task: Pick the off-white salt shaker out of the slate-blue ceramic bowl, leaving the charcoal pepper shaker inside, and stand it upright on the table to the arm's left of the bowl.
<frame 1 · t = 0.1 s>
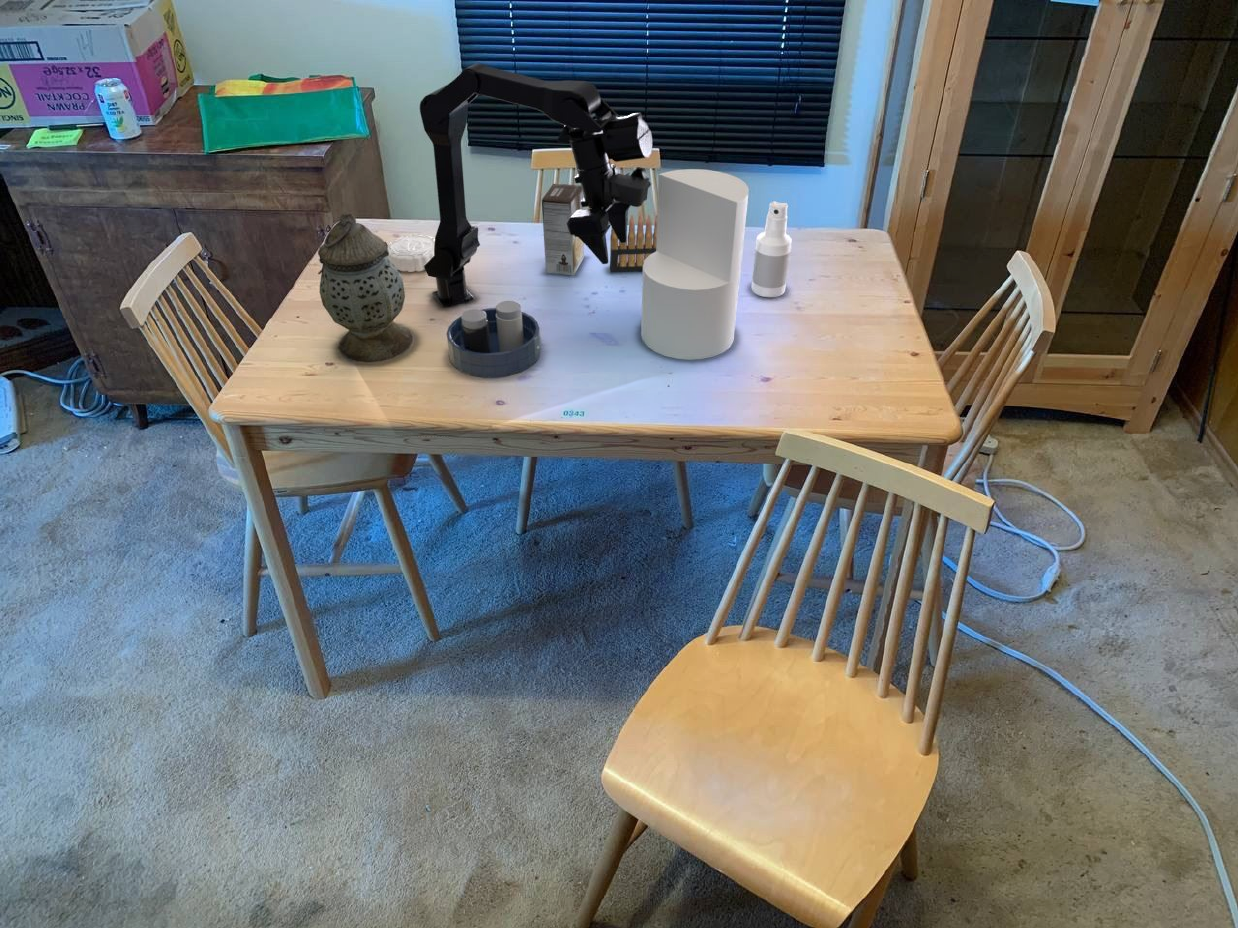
hand: (614, 252, 150), 15 cm above the table, tool pointing down, fingers open, 9 cm apart
salt shaker: (511, 348, 154), resting on bowl
spray bottle: (767, 291, 172), on the table
bowl: (495, 354, 153), on the table
lantern: (374, 345, 155), on the table
cylinder: (687, 335, 158), on the table
pepper shaker: (478, 357, 151), resting on bowl
mooncake: (415, 260, 183), on the table
coffee box: (565, 266, 181), on the table
ammunition clip: (635, 270, 179), on the table
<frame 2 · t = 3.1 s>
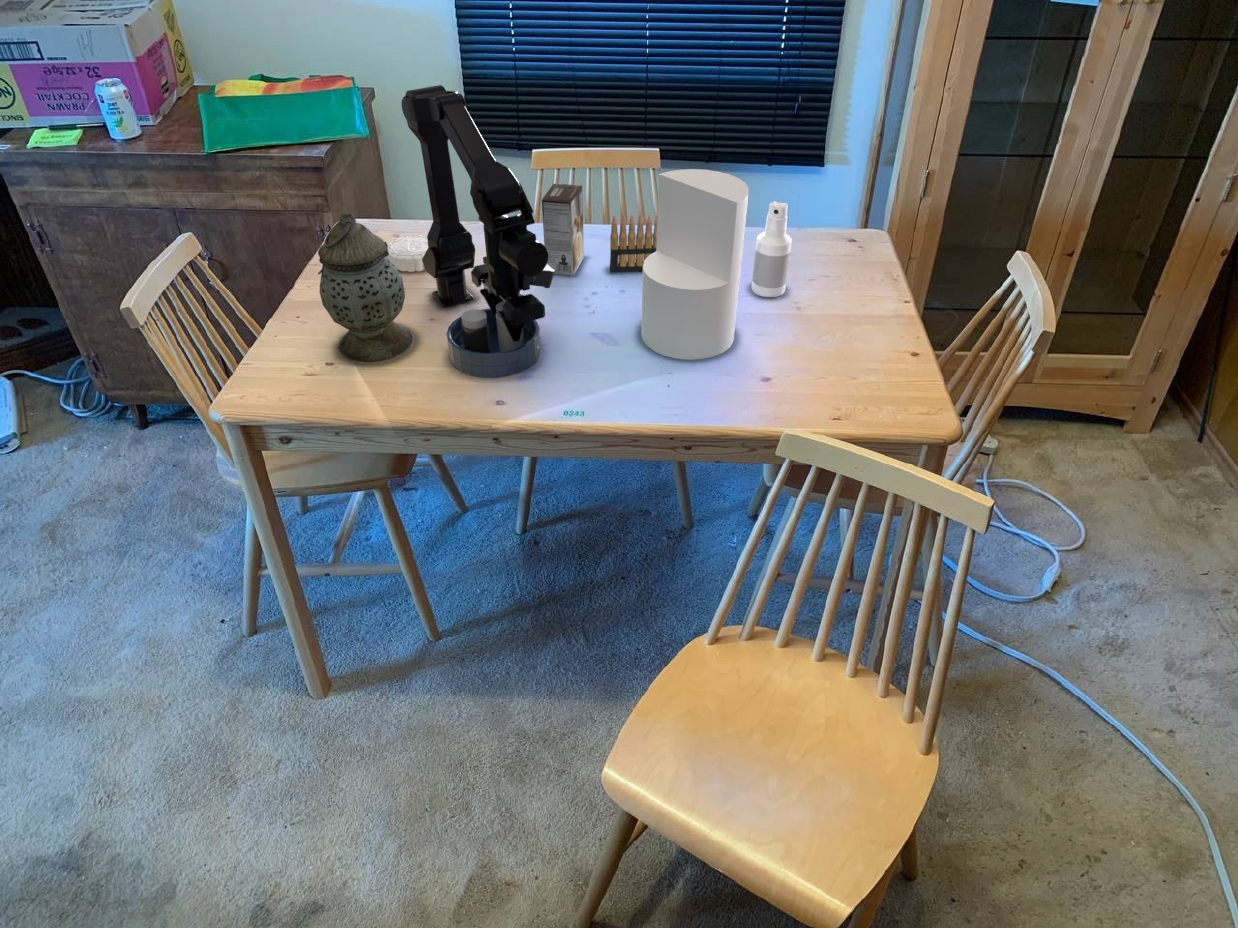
hand: (510, 334, 152), 3 cm above the table, tool pointing down, fingers closed on salt shaker, 4 cm apart
salt shaker: (511, 348, 154), resting on bowl, touching gripper
everything else where it was.
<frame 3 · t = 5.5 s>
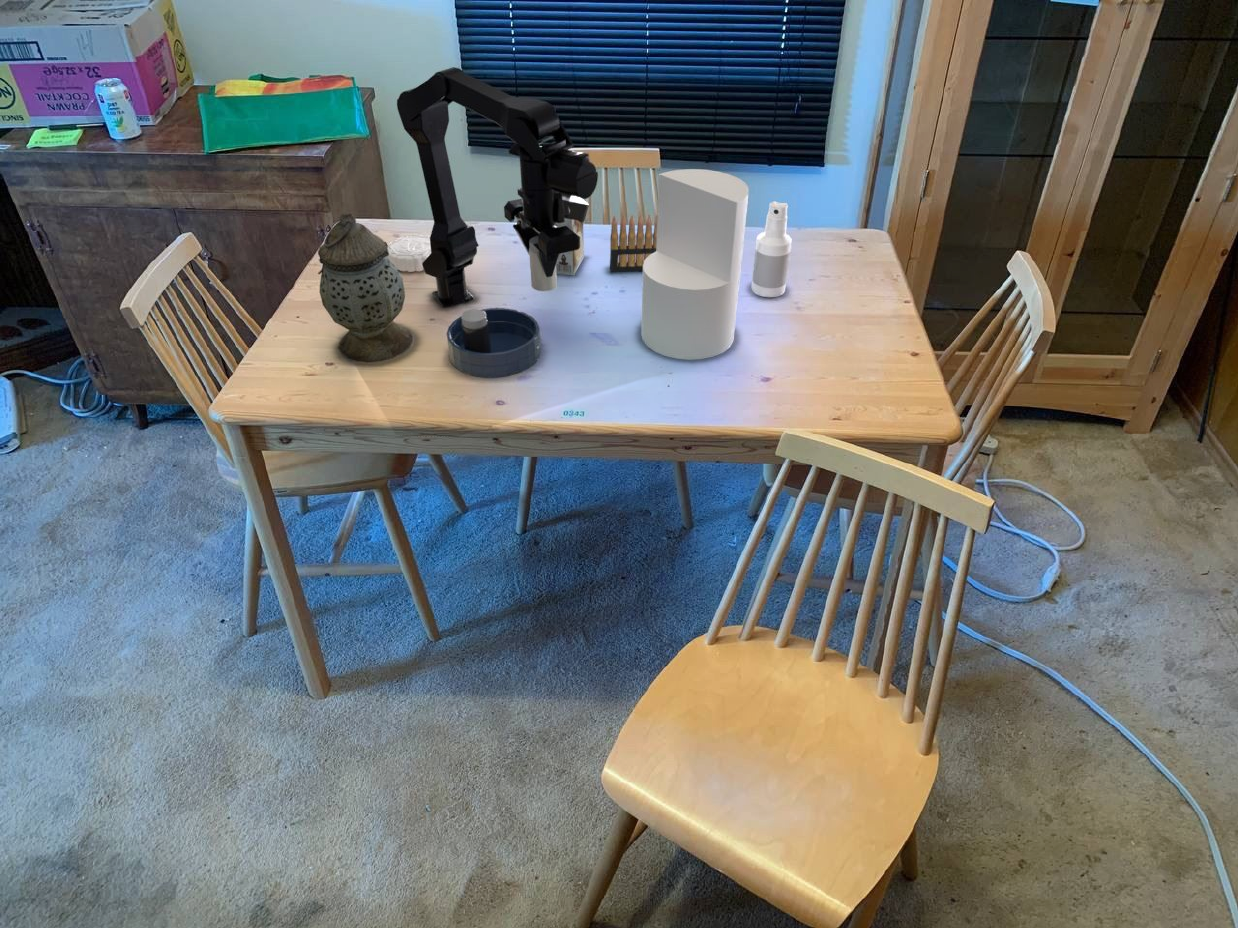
hand: (543, 271, 151), 13 cm above the table, tool pointing down, fingers closed on salt shaker, 4 cm apart
salt shaker: (544, 285, 152), point 10 cm above the table, touching gripper
everything else where it was.
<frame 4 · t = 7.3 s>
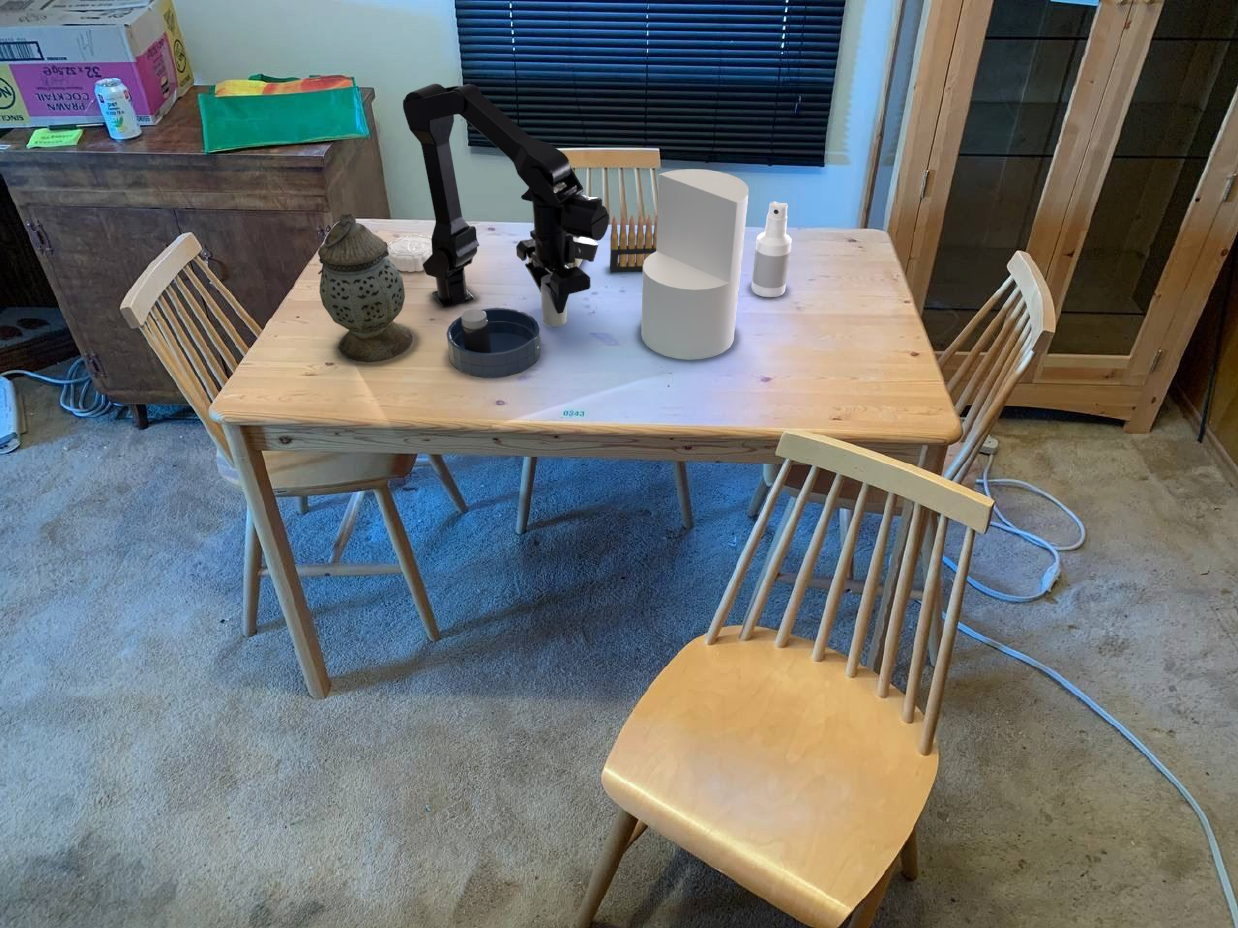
hand: (554, 307, 157), 5 cm above the table, tool pointing down, fingers closed on salt shaker, 4 cm apart
salt shaker: (554, 320, 159), point 2 cm above the table, touching gripper
everything else where it was.
when the fingers open (3 cm above the table, at t = 8.2 s): salt shaker stays where it is, on the table.
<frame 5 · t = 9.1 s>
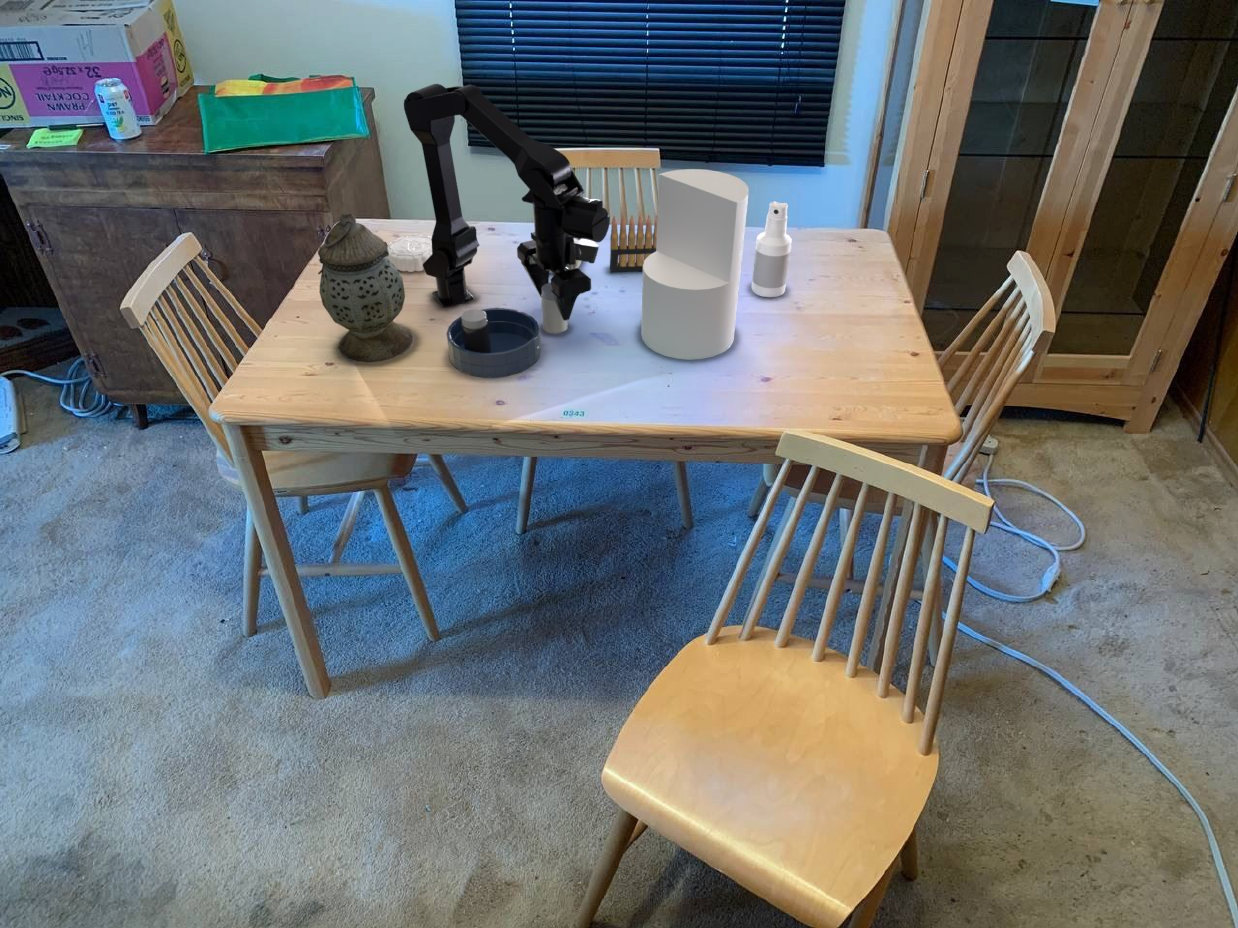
hand: (555, 309, 157), 4 cm above the table, tool pointing down, fingers open, 9 cm apart
salt shaker: (555, 328, 160), on the table
everything else where it was.
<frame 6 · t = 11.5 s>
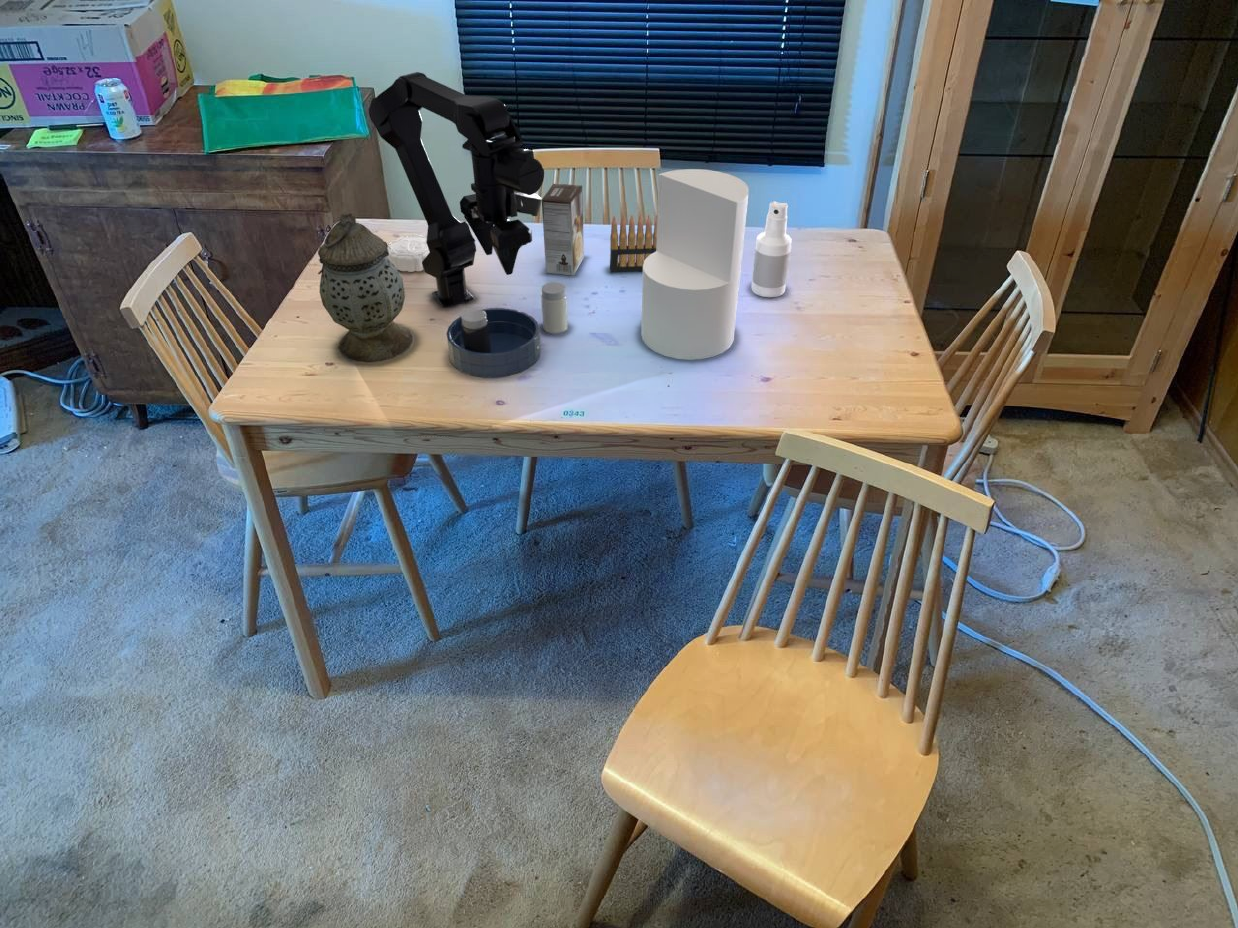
hand: (499, 264, 154), 12 cm above the table, tool pointing down, fingers open, 9 cm apart
nothing on the table moved.
at the end: salt shaker inside the target area (0.5 cm from its centre), on the table; salt shaker tilted 0°; pepper shaker inside the target area in the bowl (3.2 cm from its centre), point 0.4 cm above the bowl's base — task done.
